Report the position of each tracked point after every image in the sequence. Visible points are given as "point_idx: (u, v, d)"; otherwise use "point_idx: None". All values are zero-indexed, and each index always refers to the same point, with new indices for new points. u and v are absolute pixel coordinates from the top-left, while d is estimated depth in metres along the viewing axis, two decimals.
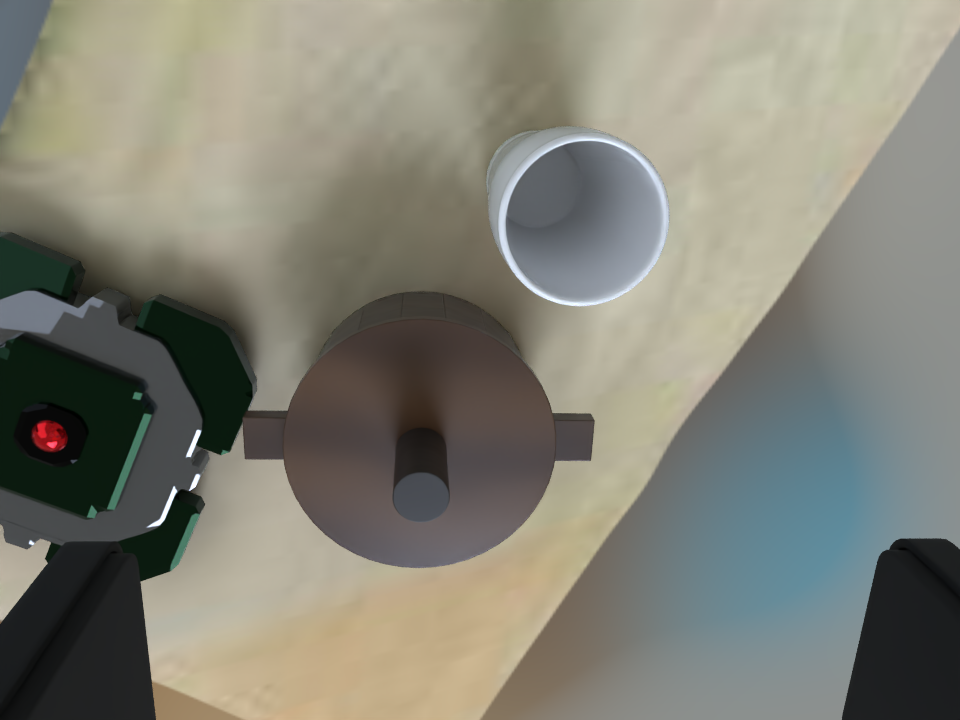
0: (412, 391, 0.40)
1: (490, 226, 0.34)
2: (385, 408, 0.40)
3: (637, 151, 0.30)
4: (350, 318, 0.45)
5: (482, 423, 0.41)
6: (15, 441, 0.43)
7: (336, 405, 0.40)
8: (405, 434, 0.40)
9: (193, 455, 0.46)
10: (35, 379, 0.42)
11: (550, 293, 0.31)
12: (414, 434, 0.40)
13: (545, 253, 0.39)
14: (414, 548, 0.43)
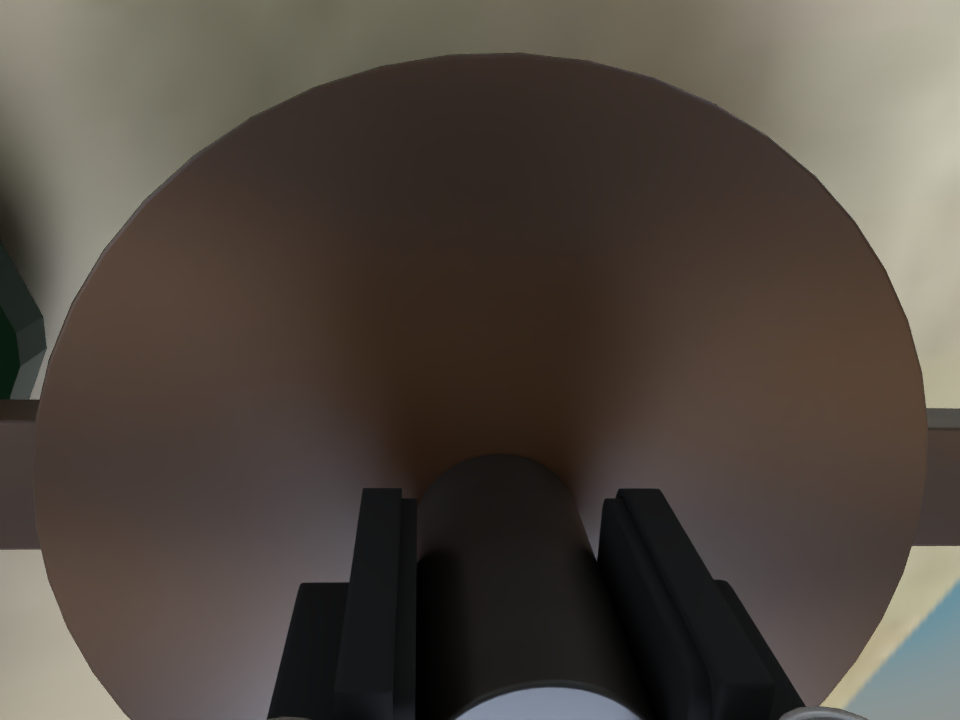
0: (473, 330, 0.12)
1: None
2: (379, 389, 0.12)
3: None
4: None
5: (699, 439, 0.12)
6: None
7: (209, 378, 0.12)
8: (447, 477, 0.12)
9: None
10: None
11: None
12: (480, 479, 0.11)
13: None
14: None
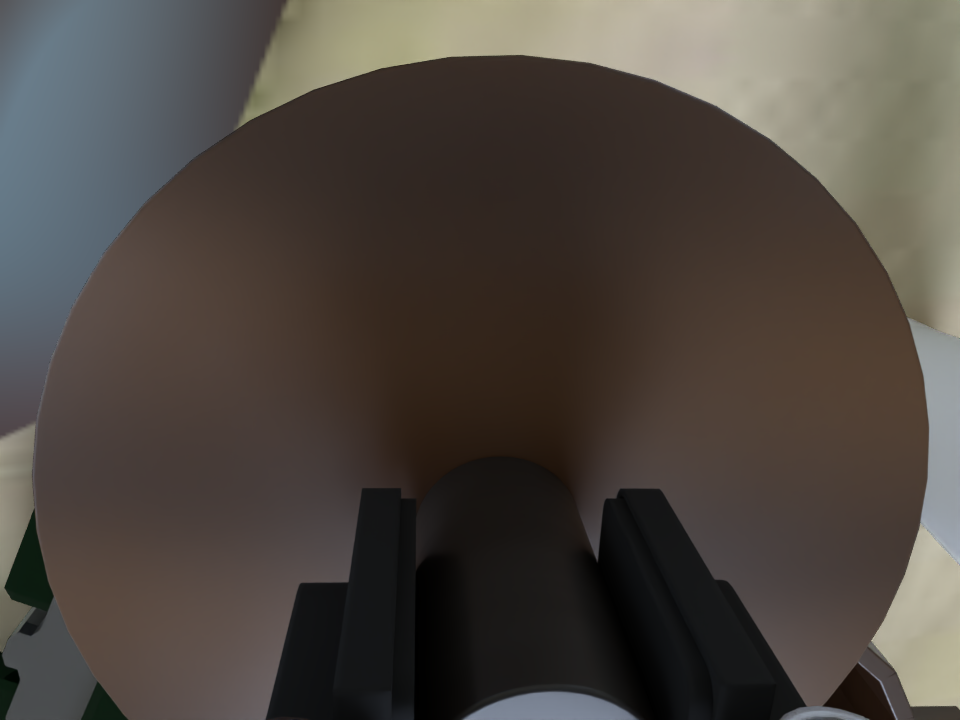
0: (474, 332, 0.12)
1: None
2: (380, 391, 0.12)
3: None
4: None
5: (701, 442, 0.12)
6: None
7: (210, 381, 0.12)
8: (448, 480, 0.12)
9: None
10: None
11: None
12: (481, 482, 0.11)
13: None
14: None
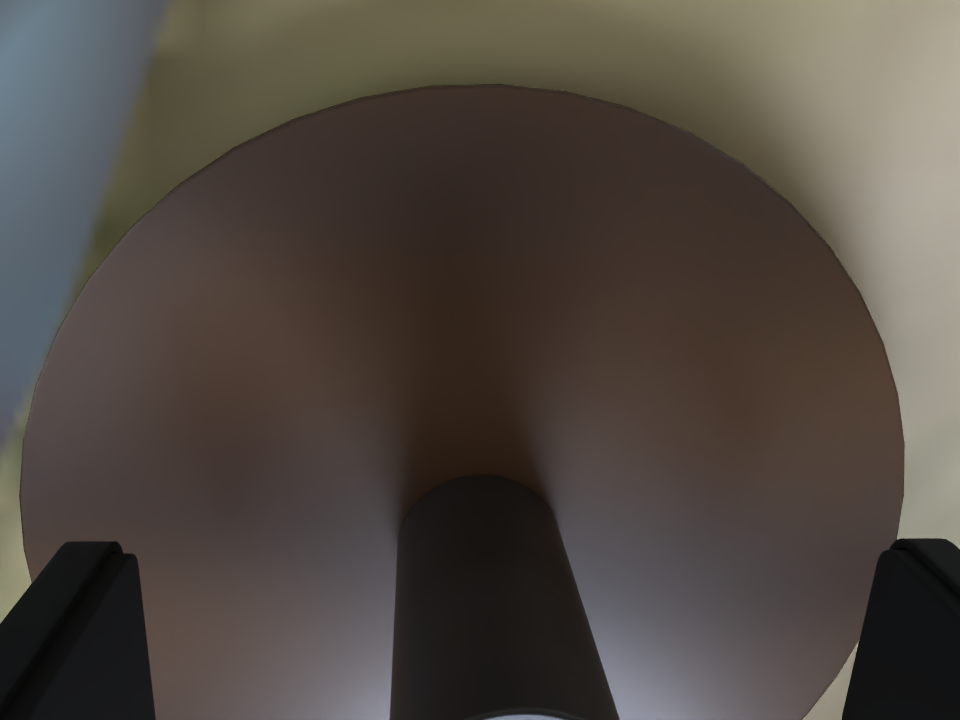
0: (454, 354, 0.12)
1: None
2: (363, 412, 0.12)
3: None
4: None
5: (679, 460, 0.13)
6: None
7: (194, 402, 0.12)
8: (430, 499, 0.12)
9: None
10: None
11: None
12: (462, 501, 0.12)
13: None
14: None
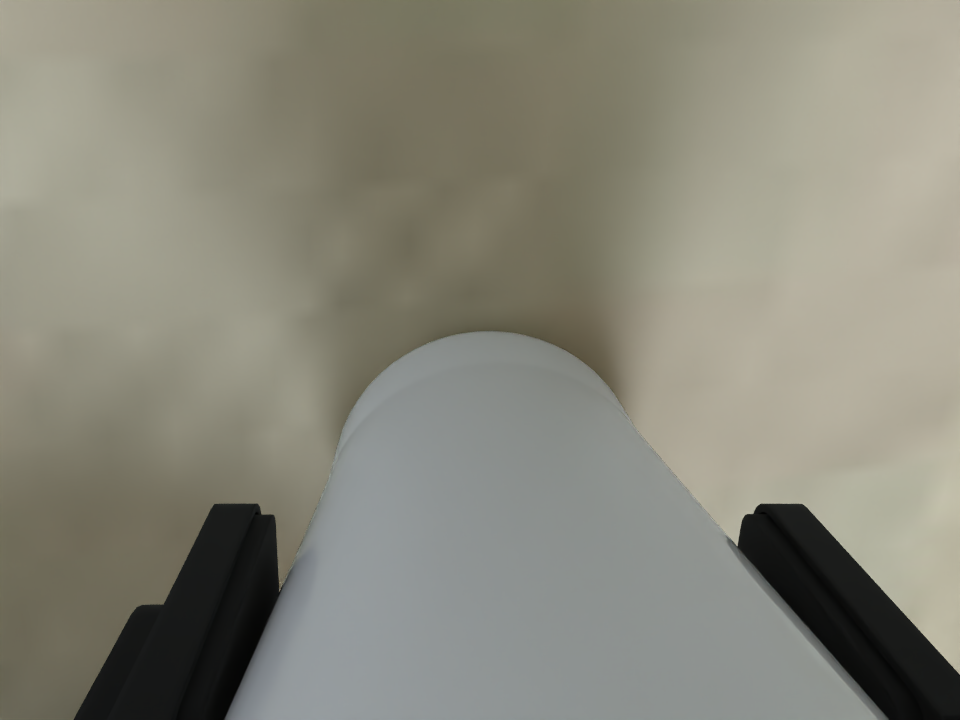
0: None
1: None
2: None
3: None
4: None
5: None
6: None
7: None
8: None
9: None
10: None
11: None
12: None
13: None
14: None
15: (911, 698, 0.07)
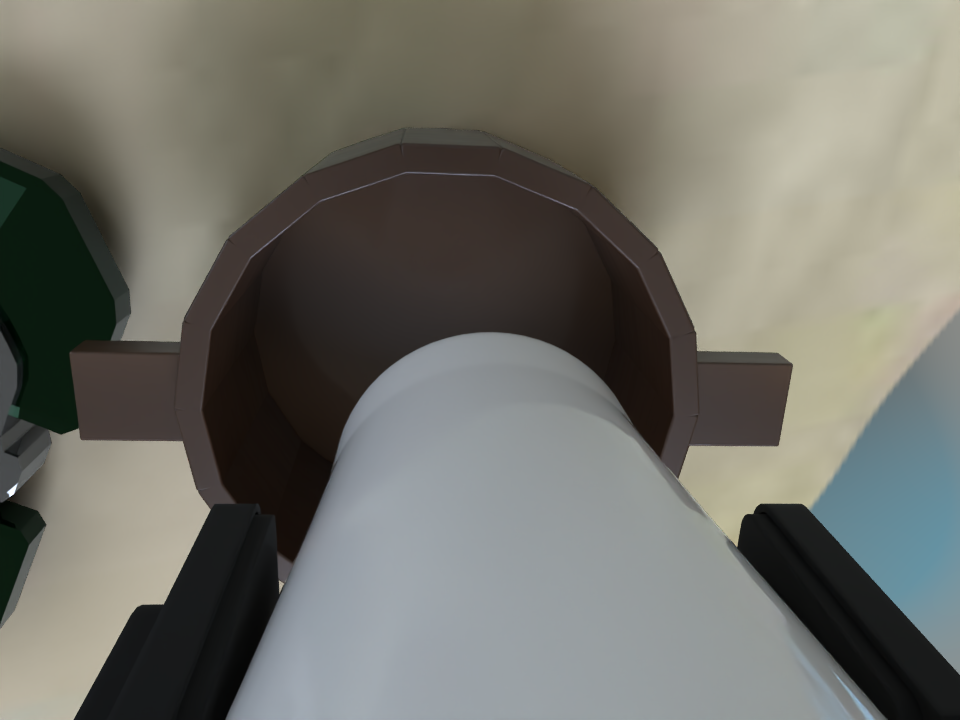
0: None
1: None
2: None
3: None
4: None
5: None
6: None
7: None
8: None
9: (9, 435, 0.24)
10: None
11: None
12: None
13: None
14: None
15: (911, 698, 0.07)
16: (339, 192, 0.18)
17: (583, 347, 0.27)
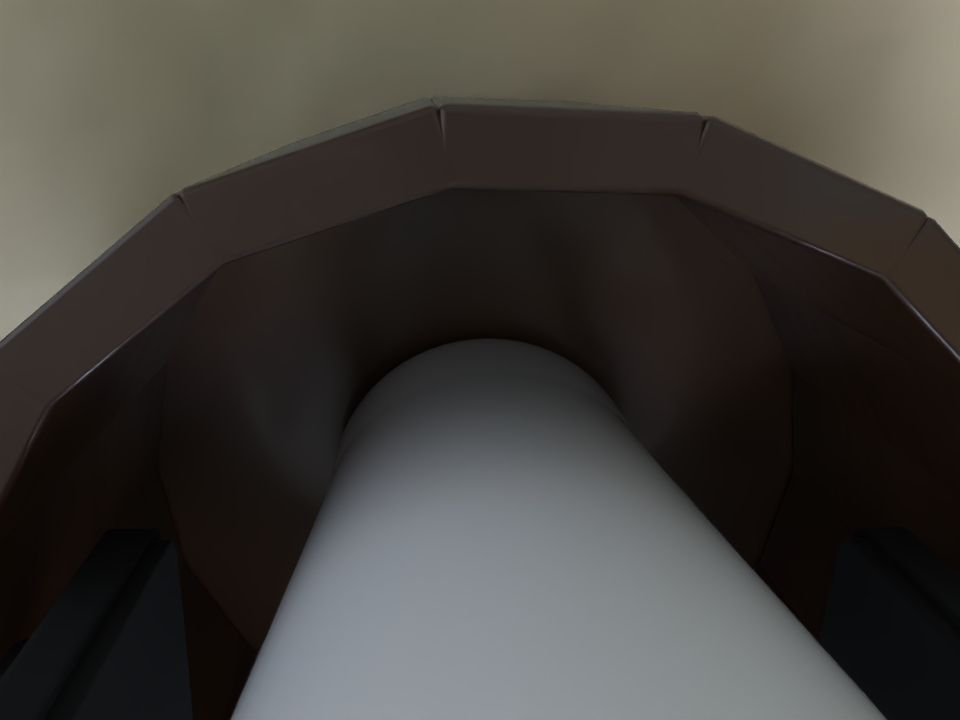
0: None
1: None
2: None
3: None
4: None
5: None
6: None
7: None
8: None
9: None
10: None
11: None
12: None
13: None
14: None
15: None
16: (274, 237, 0.07)
17: (736, 484, 0.15)
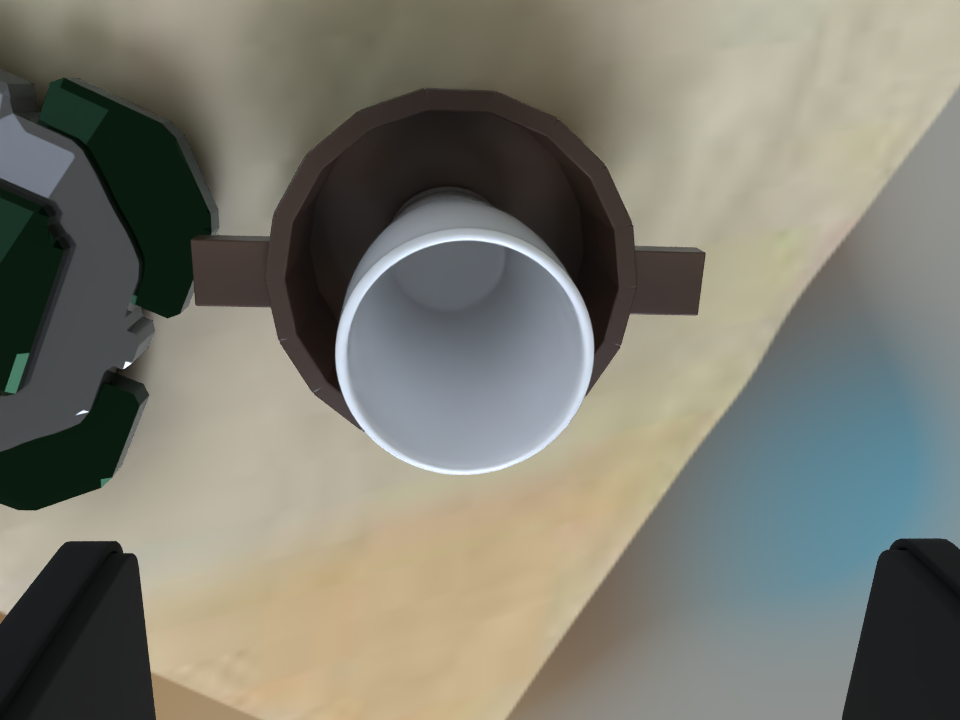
0: None
1: None
2: None
3: (541, 255, 0.20)
4: None
5: None
6: None
7: None
8: None
9: (129, 318, 0.33)
10: None
11: (420, 457, 0.21)
12: None
13: (447, 361, 0.29)
14: None
15: None
16: (383, 122, 0.26)
17: (559, 258, 0.35)
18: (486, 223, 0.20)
